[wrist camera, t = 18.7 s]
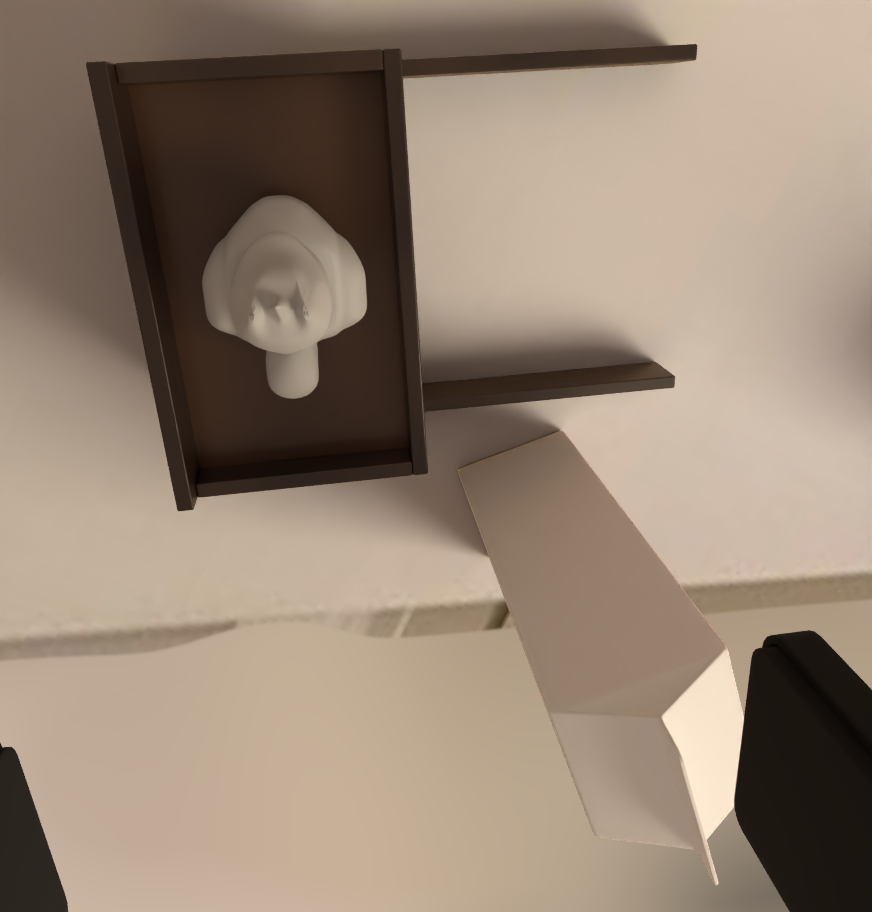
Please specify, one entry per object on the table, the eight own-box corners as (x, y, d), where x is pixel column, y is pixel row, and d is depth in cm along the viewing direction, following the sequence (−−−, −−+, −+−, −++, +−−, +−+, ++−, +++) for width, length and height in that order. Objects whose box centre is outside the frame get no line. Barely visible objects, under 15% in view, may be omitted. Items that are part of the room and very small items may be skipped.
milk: (561, 428, 42) (786, 712, 22) (590, 522, 45) (816, 855, 25) (453, 469, 42) (578, 789, 22) (488, 561, 45) (629, 925, 25)
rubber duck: (357, 187, 29) (370, 213, 21) (368, 365, 31) (382, 443, 24) (201, 192, 28) (158, 222, 21) (225, 374, 31) (195, 457, 23)
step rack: (673, 48, 36) (803, 25, 26) (655, 372, 42) (755, 450, 32) (152, 76, 33) (85, 62, 24) (212, 414, 39) (177, 511, 30)
